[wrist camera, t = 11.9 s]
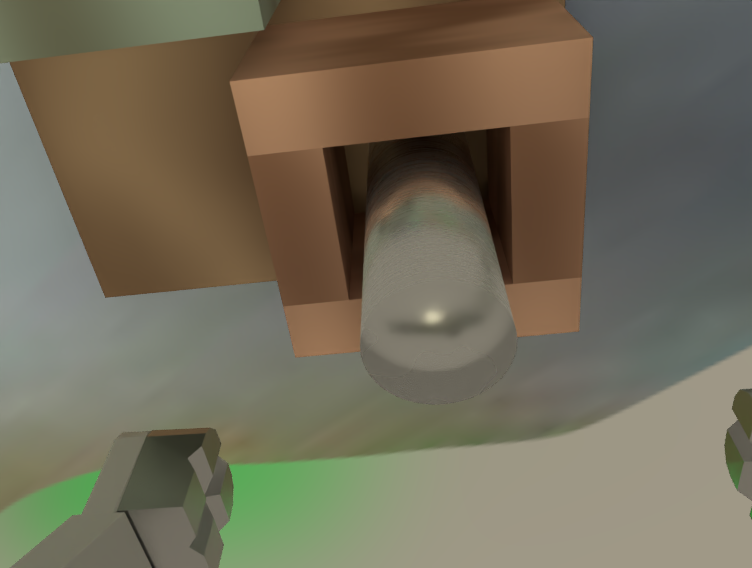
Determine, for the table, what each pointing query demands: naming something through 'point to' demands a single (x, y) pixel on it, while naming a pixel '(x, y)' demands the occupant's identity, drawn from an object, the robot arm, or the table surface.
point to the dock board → (164, 158)
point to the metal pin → (431, 275)
